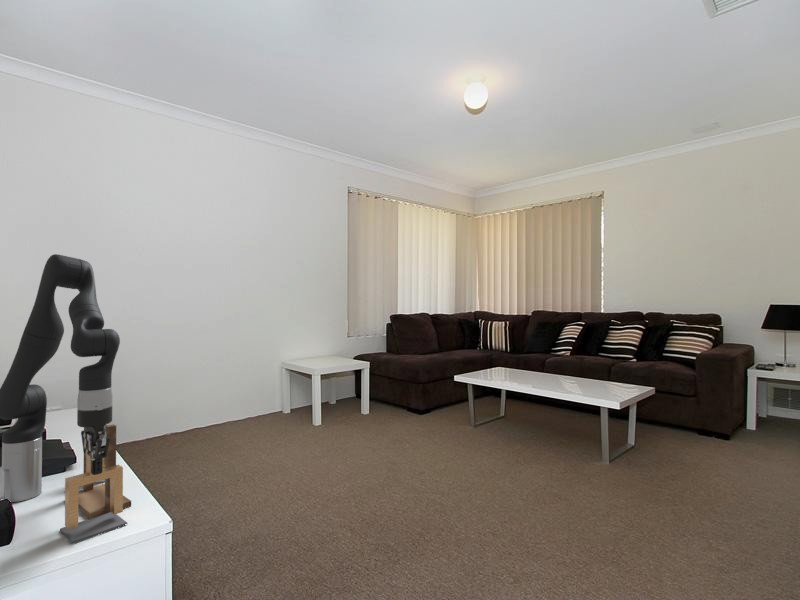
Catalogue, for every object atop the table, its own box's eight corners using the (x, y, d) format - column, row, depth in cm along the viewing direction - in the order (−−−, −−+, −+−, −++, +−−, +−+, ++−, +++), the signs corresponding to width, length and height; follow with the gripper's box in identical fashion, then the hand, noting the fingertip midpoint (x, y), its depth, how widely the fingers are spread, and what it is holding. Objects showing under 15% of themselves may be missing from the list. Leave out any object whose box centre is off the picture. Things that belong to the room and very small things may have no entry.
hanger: (68, 529, 109) (68, 460, 109) (64, 526, 111) (65, 458, 111) (122, 511, 119) (122, 448, 119) (118, 508, 121) (118, 446, 121)
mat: (72, 544, 107) (72, 541, 107) (59, 530, 113) (59, 528, 113) (127, 524, 116) (127, 522, 116) (112, 513, 123) (112, 511, 123)
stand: (90, 519, 119) (91, 430, 120) (67, 499, 132) (68, 418, 132) (131, 506, 127) (131, 422, 127) (105, 488, 140) (106, 412, 140)
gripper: (69, 404, 117) (68, 470, 116) (87, 412, 108) (86, 483, 108) (102, 399, 123) (101, 462, 122) (121, 407, 114) (121, 474, 114)
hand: (94, 472), depth 115 cm, fingers closed on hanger, 3 cm apart
